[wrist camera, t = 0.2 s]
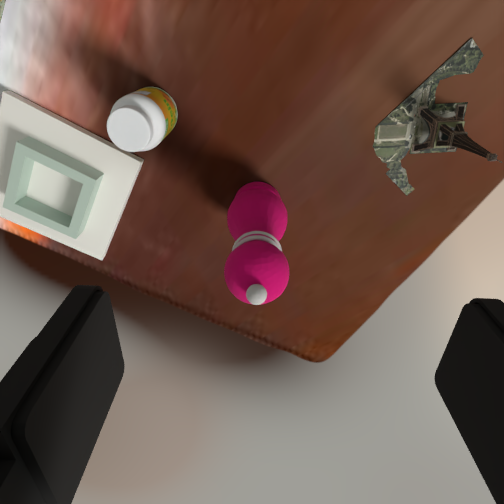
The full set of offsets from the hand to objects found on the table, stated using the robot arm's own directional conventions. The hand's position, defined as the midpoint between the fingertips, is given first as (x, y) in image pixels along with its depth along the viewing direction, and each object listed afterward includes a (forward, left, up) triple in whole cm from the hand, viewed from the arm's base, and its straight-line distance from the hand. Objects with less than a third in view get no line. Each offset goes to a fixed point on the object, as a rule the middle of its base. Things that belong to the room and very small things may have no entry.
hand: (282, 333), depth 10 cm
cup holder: (+12, -24, -36) cm, 45 cm away
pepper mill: (+12, +1, -36) cm, 38 cm away
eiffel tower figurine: (0, +20, -37) cm, 42 cm away
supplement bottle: (+2, -12, -36) cm, 38 cm away
